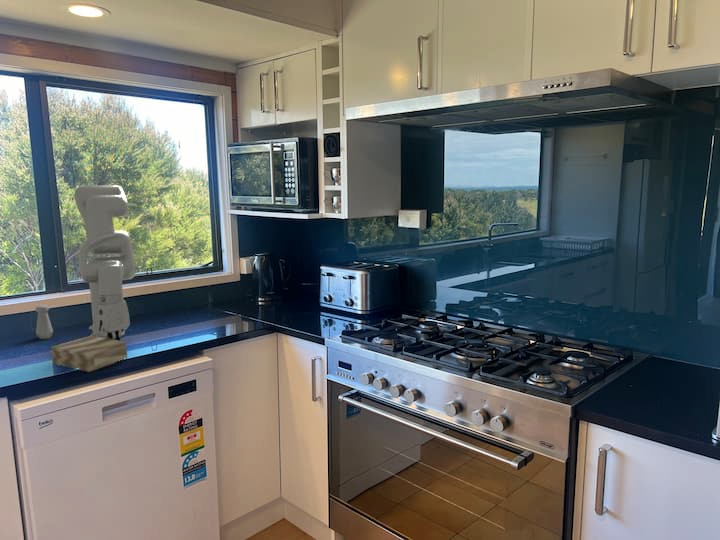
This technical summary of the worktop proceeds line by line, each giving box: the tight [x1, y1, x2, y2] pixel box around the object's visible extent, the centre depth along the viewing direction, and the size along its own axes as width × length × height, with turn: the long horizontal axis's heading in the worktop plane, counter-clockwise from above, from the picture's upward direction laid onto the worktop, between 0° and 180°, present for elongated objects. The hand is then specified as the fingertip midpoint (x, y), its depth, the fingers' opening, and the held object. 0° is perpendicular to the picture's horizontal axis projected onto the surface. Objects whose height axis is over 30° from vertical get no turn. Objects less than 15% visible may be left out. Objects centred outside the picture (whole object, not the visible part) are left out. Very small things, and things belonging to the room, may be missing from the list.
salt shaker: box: [35, 304, 54, 340], centre depth 211 cm, size 6×6×13 cm
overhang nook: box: [51, 335, 128, 373], centre depth 183 cm, size 18×15×6 cm
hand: (115, 348), depth 192 cm, fingers closed
